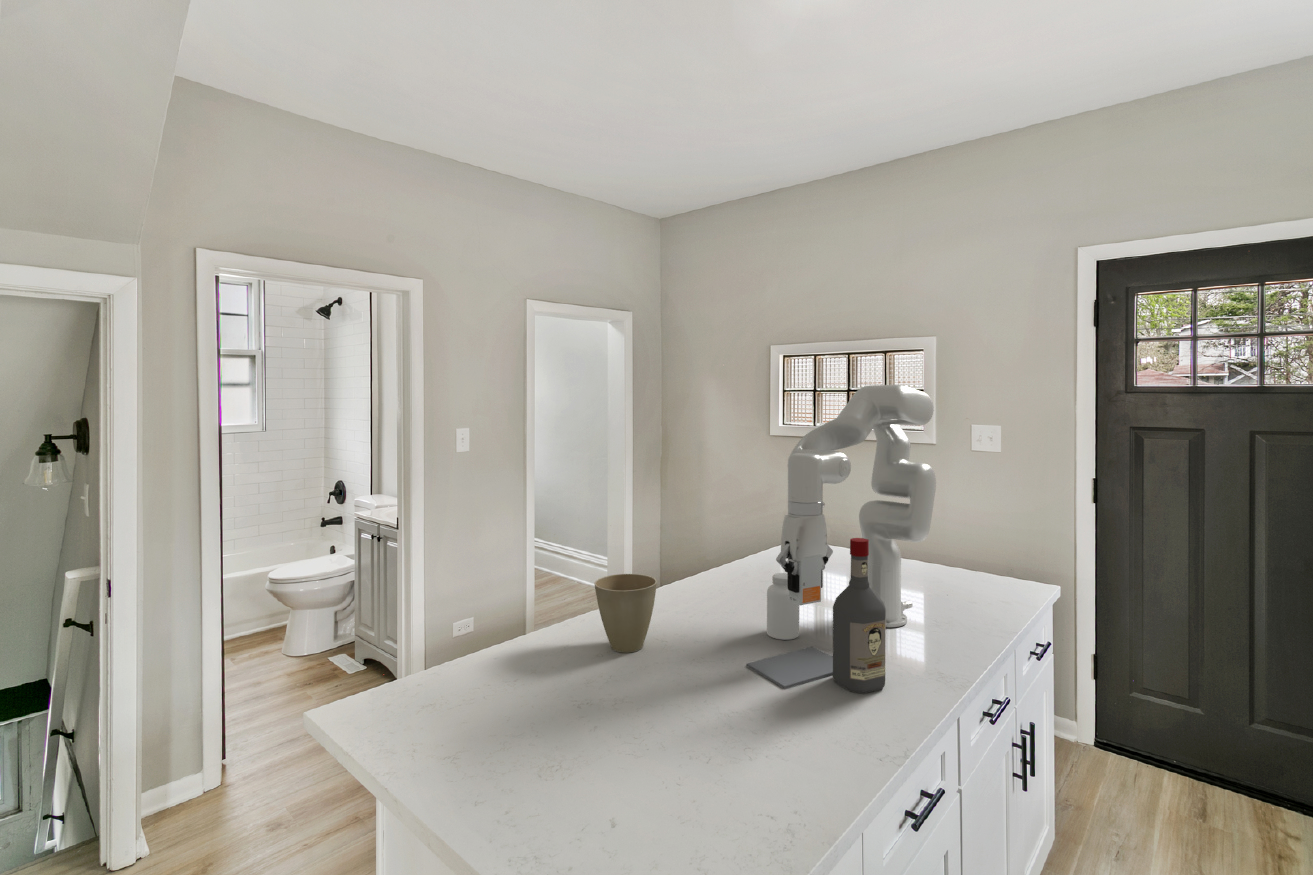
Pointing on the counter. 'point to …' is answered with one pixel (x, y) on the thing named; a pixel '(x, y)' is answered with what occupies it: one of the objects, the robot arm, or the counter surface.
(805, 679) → the mat
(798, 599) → the skincare box
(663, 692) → the counter surface
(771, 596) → the pill bottle
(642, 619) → the plant pot
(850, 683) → the liquor
